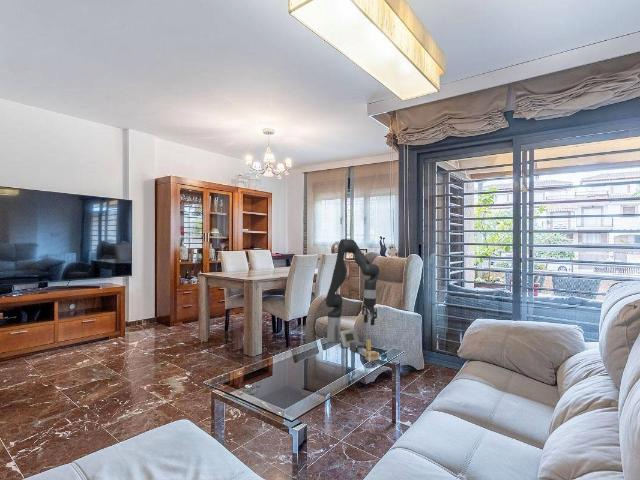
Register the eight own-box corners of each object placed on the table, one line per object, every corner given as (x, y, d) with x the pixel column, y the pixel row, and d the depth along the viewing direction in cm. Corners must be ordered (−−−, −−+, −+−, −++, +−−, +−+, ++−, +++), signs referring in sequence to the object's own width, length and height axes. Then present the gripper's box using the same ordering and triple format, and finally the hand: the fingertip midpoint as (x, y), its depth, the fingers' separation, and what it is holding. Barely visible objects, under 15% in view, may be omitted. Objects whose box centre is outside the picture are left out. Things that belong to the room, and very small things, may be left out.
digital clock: (343, 349, 235) (343, 332, 235) (335, 346, 242) (335, 330, 243) (362, 346, 244) (362, 330, 244) (353, 343, 251) (354, 328, 252)
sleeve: (349, 349, 233) (349, 342, 233) (358, 349, 235) (358, 341, 235) (354, 352, 226) (354, 344, 226) (363, 352, 229) (363, 344, 229)
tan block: (364, 358, 213) (365, 351, 213) (374, 358, 216) (375, 351, 216) (369, 361, 208) (369, 354, 209) (379, 360, 211) (379, 353, 211)
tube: (355, 351, 228) (356, 335, 229) (360, 350, 229) (360, 334, 230) (369, 359, 212) (370, 341, 212) (374, 358, 213) (374, 341, 213)
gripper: (358, 295, 223) (358, 322, 223) (370, 298, 210) (369, 326, 209) (369, 295, 226) (368, 321, 225) (381, 298, 213) (380, 326, 212)
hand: (369, 323), depth 217 cm, fingers open, 8 cm apart
